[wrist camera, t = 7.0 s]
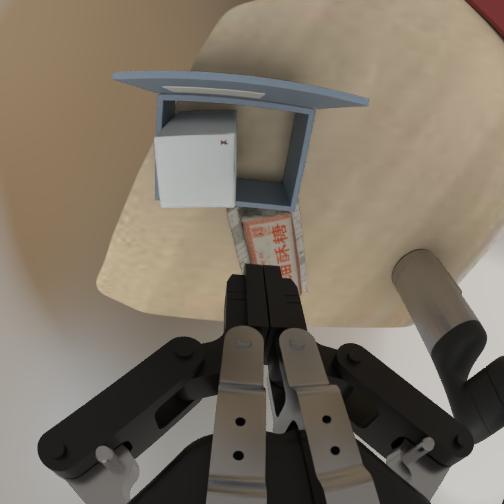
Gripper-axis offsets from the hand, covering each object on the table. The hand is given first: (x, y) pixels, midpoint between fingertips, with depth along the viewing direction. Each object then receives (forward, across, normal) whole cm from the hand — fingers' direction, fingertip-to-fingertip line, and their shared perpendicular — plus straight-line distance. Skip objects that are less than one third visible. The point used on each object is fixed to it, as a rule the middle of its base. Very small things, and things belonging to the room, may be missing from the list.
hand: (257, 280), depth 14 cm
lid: (+15, +1, -6) cm, 16 cm away
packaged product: (+29, -6, +18) cm, 34 cm away
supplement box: (+28, +4, +1) cm, 29 cm away
